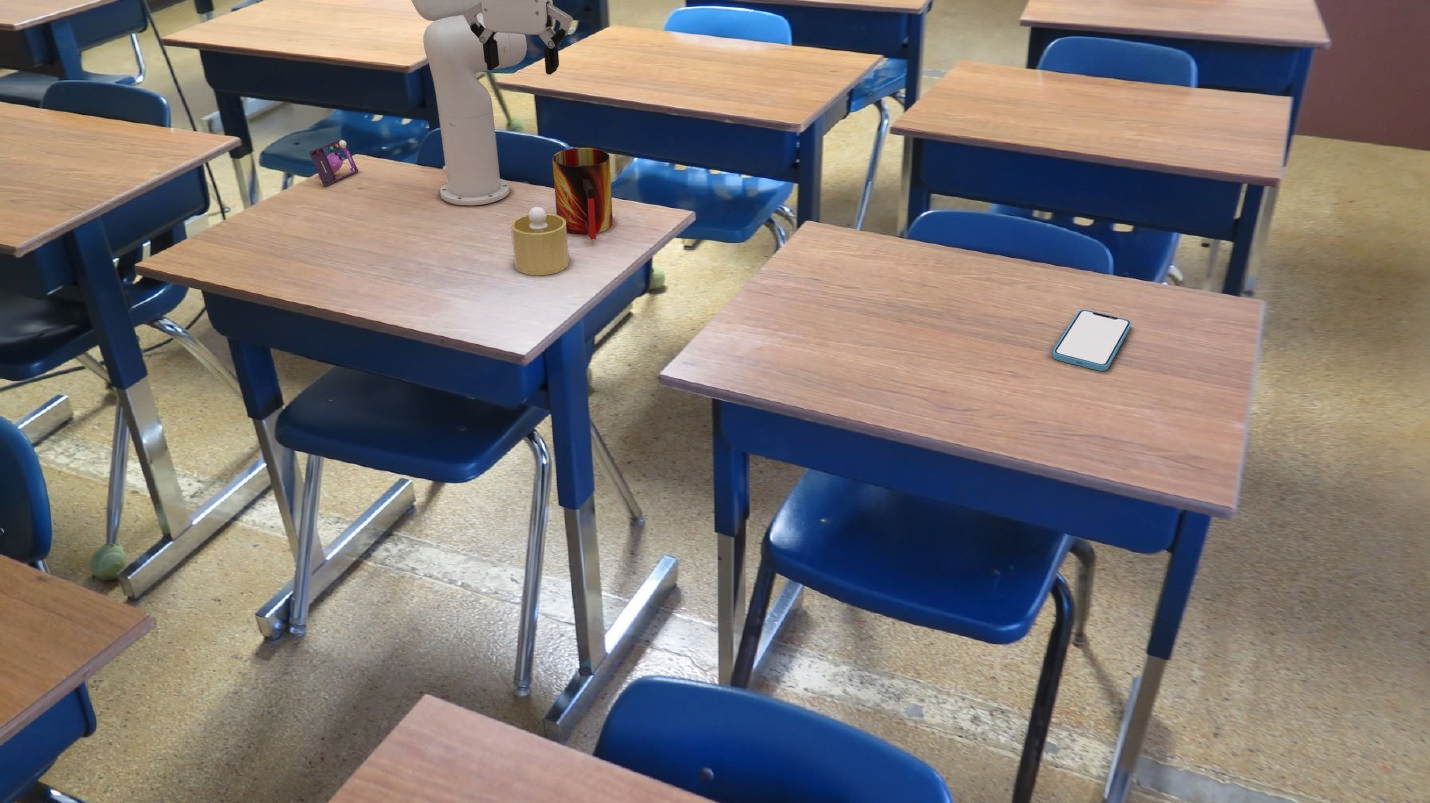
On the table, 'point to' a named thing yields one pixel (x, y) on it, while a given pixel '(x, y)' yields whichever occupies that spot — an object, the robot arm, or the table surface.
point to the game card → (331, 162)
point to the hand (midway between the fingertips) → (522, 70)
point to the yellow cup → (540, 246)
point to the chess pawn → (537, 219)
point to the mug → (583, 190)
